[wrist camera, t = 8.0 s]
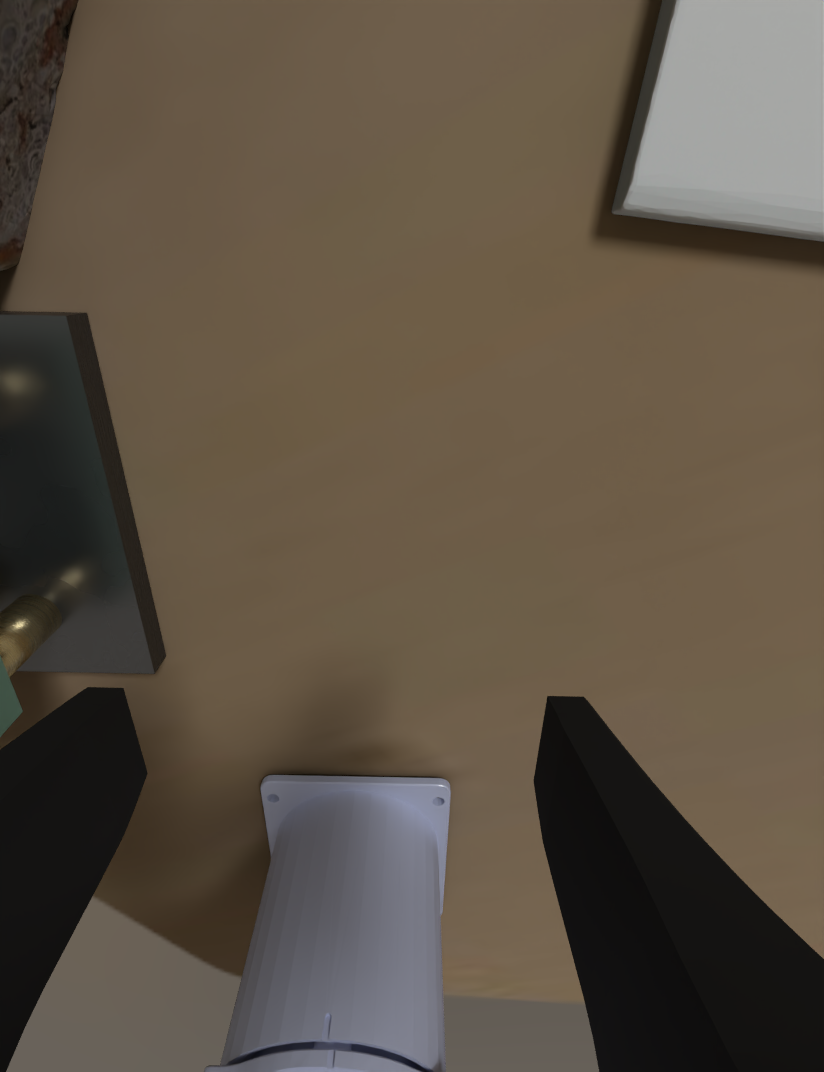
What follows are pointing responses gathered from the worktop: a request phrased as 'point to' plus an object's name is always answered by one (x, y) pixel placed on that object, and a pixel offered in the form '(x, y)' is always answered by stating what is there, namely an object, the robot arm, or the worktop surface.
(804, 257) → the worktop surface
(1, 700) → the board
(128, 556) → the plate
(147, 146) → the worktop surface
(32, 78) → the geological specimen
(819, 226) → the external hard drive
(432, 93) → the worktop surface
